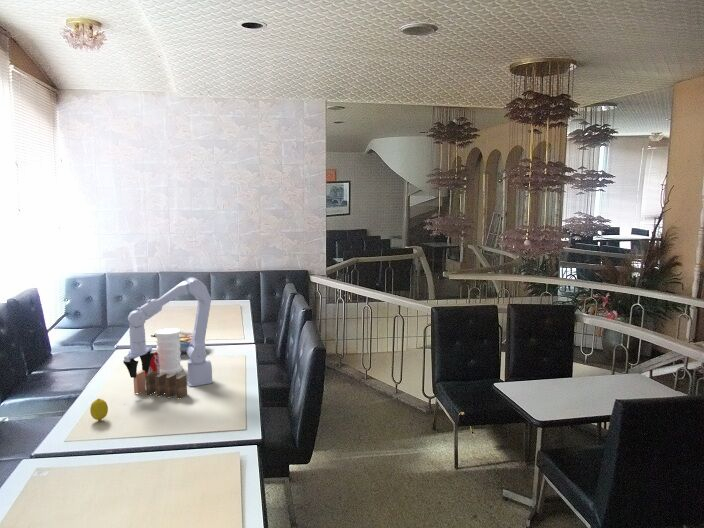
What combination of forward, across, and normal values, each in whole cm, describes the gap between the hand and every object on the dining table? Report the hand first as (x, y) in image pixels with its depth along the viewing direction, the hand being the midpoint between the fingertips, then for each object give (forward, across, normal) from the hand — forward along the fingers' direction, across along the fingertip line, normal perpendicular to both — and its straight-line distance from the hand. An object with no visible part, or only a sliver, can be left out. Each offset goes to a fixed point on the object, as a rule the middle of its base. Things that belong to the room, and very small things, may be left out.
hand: (139, 374), depth 217 cm
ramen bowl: (+8, -55, -18) cm, 58 cm away
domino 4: (+7, 0, +19) cm, 20 cm away
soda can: (+7, -15, -6) cm, 17 cm away
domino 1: (+7, 0, +5) cm, 9 cm away
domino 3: (+7, 0, +14) cm, 16 cm away
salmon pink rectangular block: (+7, 0, 0) cm, 7 cm away
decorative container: (+8, -27, -5) cm, 28 cm away
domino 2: (+7, 0, +10) cm, 12 cm away
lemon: (+7, +28, +5) cm, 30 cm away
